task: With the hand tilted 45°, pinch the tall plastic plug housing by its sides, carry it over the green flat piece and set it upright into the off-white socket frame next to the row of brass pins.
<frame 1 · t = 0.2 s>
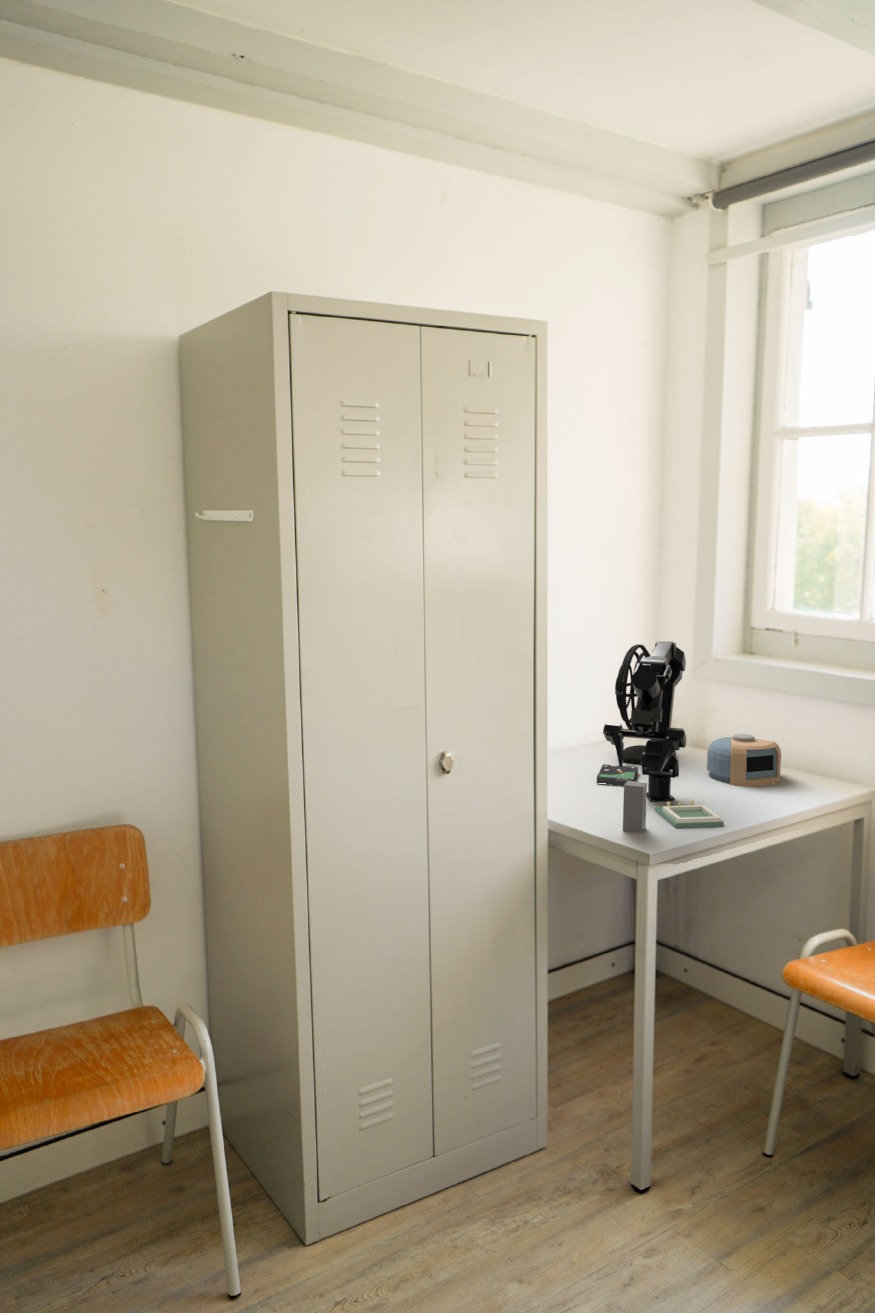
hand: (640, 769, 222), 15 cm above the table, tool tilted 35°, fingers open, 9 cm apart
plug housing: (634, 829, 224), on the table
alarm clock: (742, 777, 272), on the table
green flat piece: (688, 818, 233), on the table
desk fan: (644, 757, 295), on the table
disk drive: (617, 781, 270), on the table
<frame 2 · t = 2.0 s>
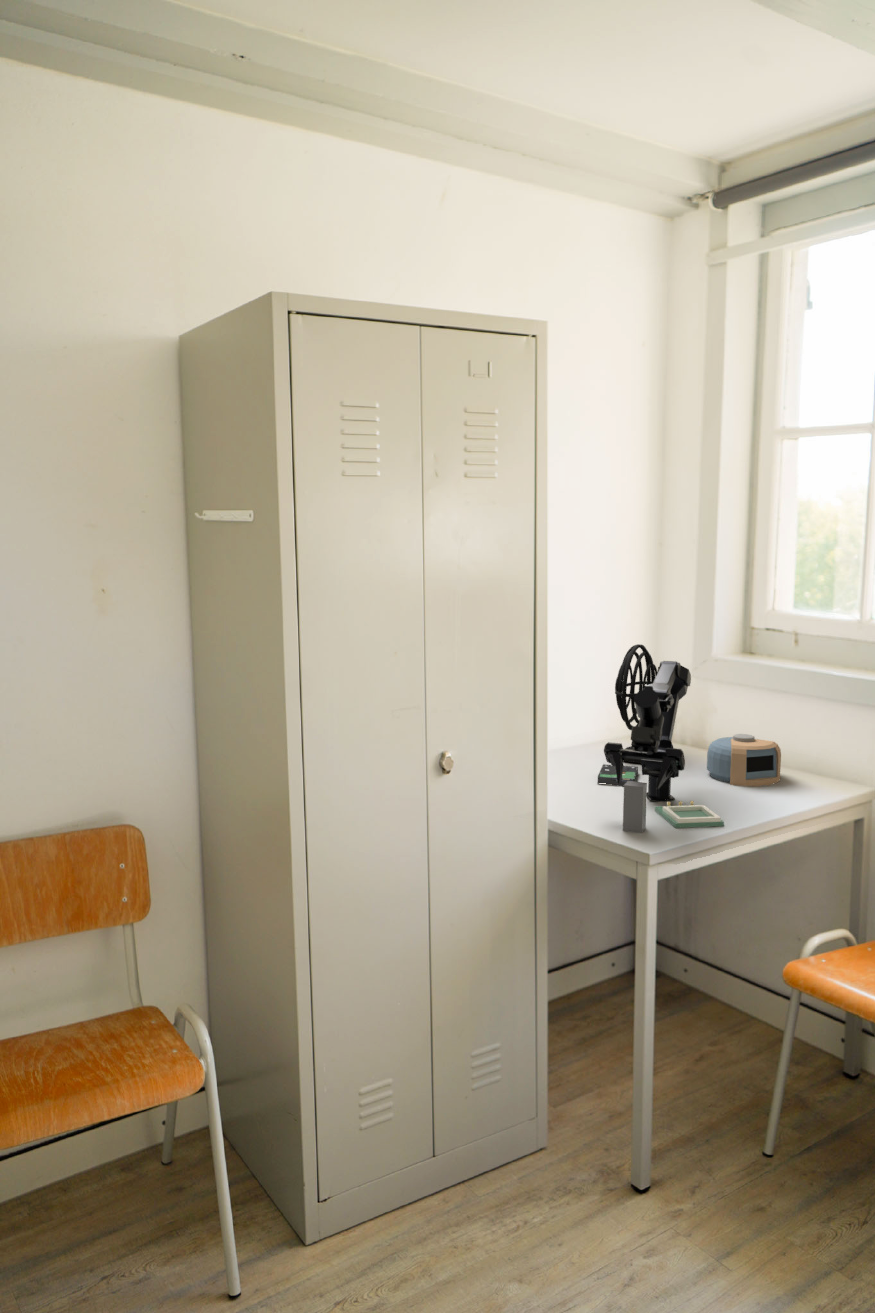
hand: (637, 786, 225), 10 cm above the table, tool tilted 45°, fingers open, 9 cm apart
nothing on the table moved.
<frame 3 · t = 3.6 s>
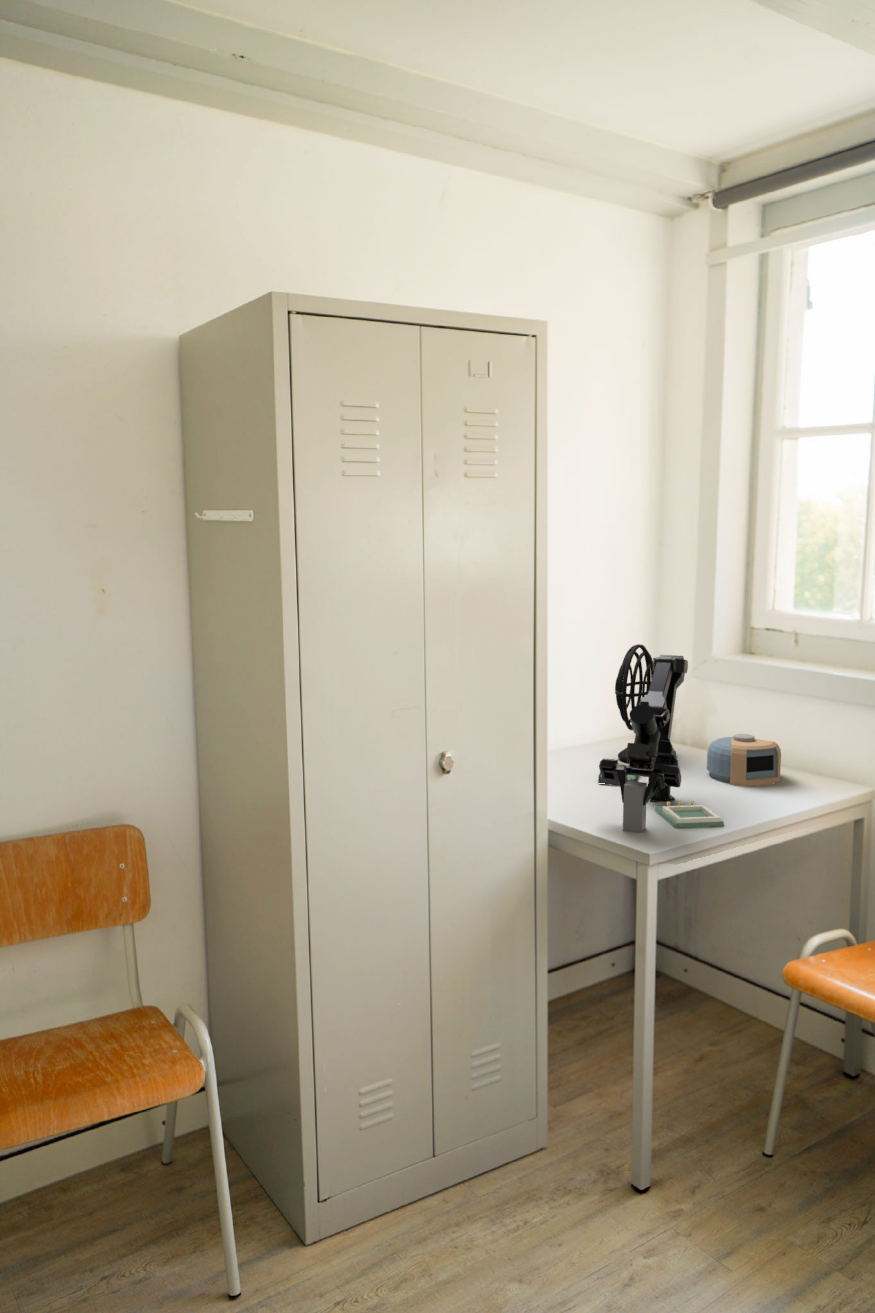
hand: (633, 803, 222), 7 cm above the table, tool tilted 45°, fingers closed on plug housing, 4 cm apart
plug housing: (634, 829, 224), on the table, touching gripper
everything else where it was.
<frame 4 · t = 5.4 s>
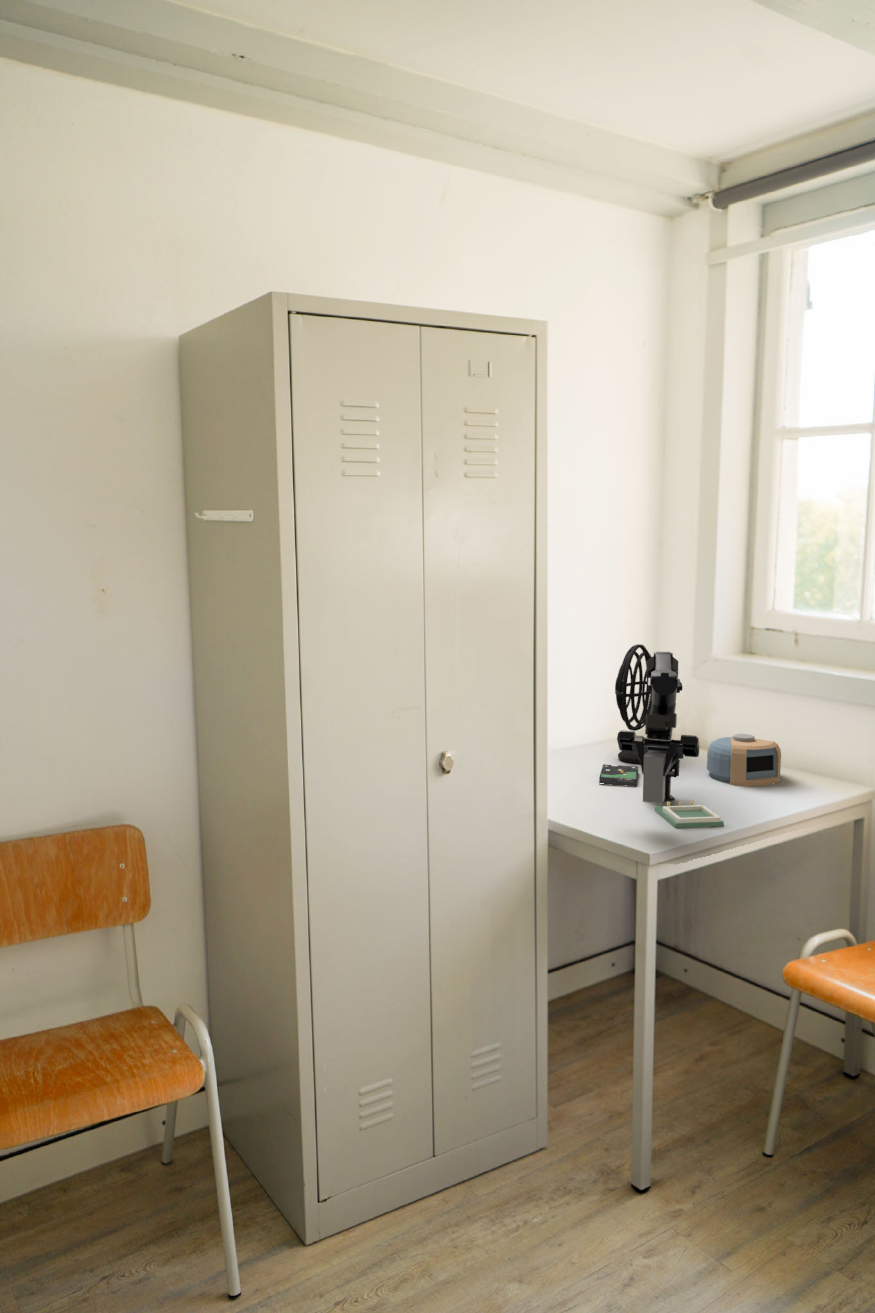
hand: (653, 774, 222), 13 cm above the table, tool tilted 45°, fingers closed on plug housing, 4 cm apart
plug housing: (653, 800, 224), point 7 cm above the table, touching gripper
everything else where it was.
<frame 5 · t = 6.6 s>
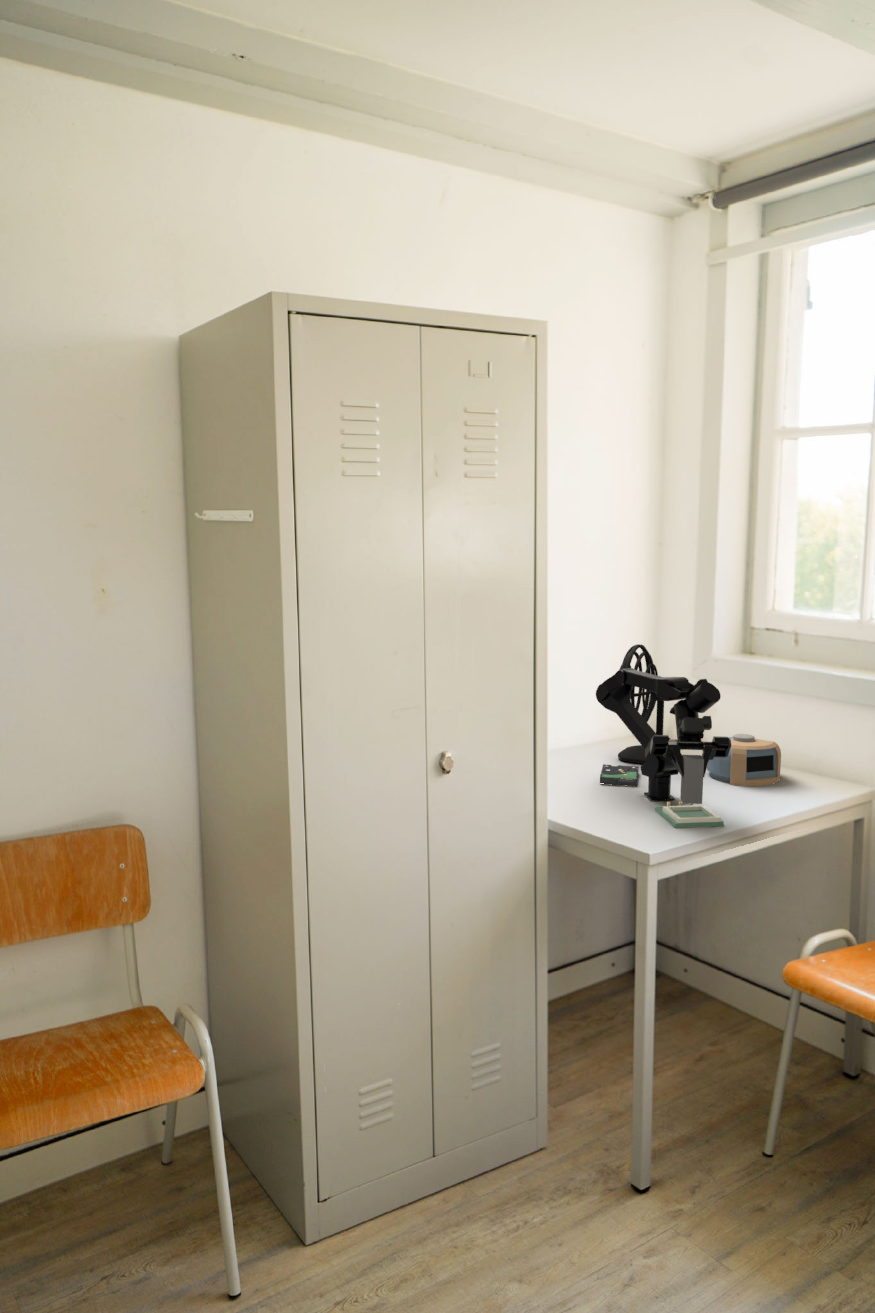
hand: (693, 776, 229), 11 cm above the table, tool tilted 45°, fingers closed on plug housing, 4 cm apart
plug housing: (691, 801, 231), point 5 cm above the table, touching gripper
everything else where it was.
when the fingers open (9 cm above the table, at t = 7.3 s): plug housing drops 1 cm, resting on green flat piece.
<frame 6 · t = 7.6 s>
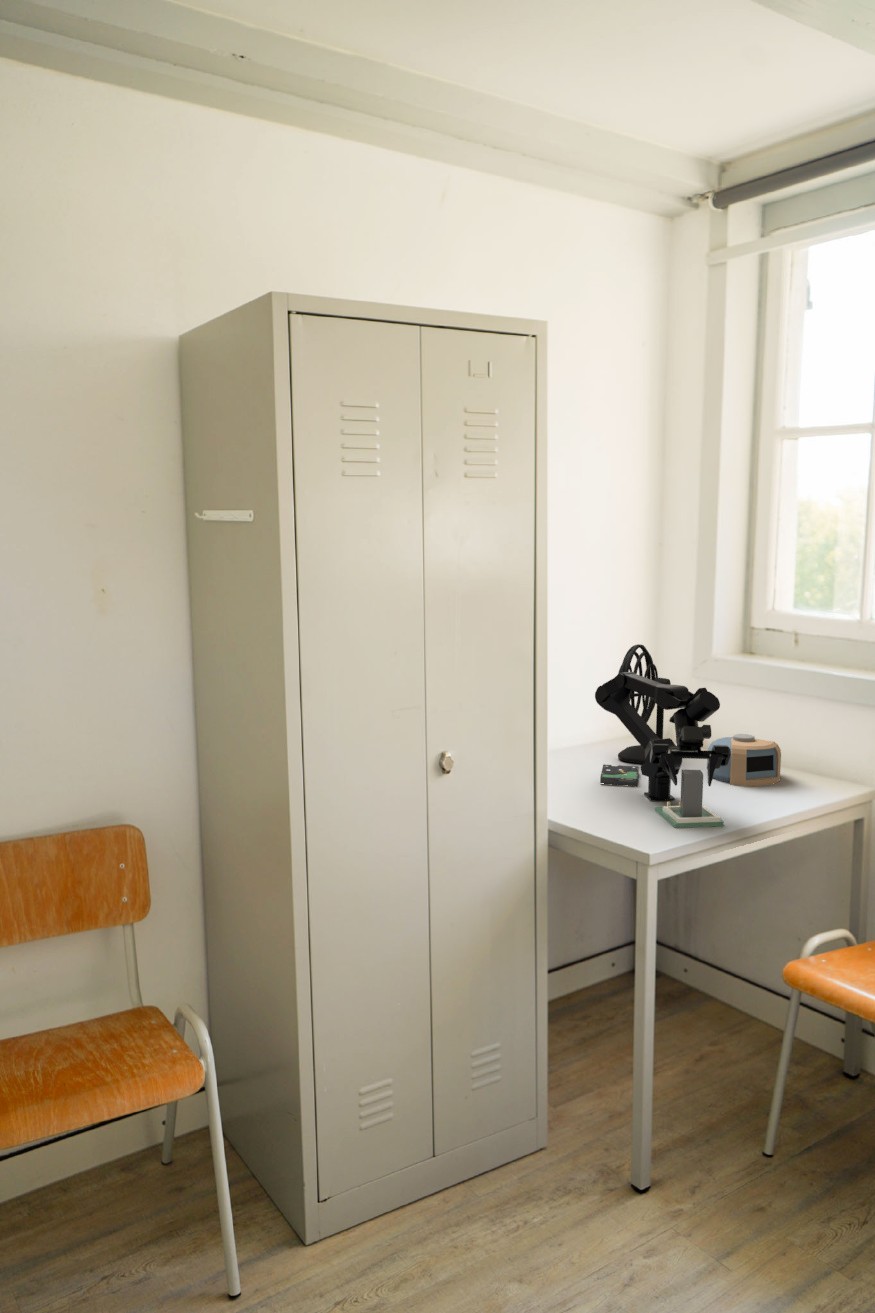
hand: (693, 785, 229), 9 cm above the table, tool tilted 45°, fingers open, 8 cm apart
plug housing: (690, 815, 231), point 1 cm above the table, touching green flat piece
everything else where it was.
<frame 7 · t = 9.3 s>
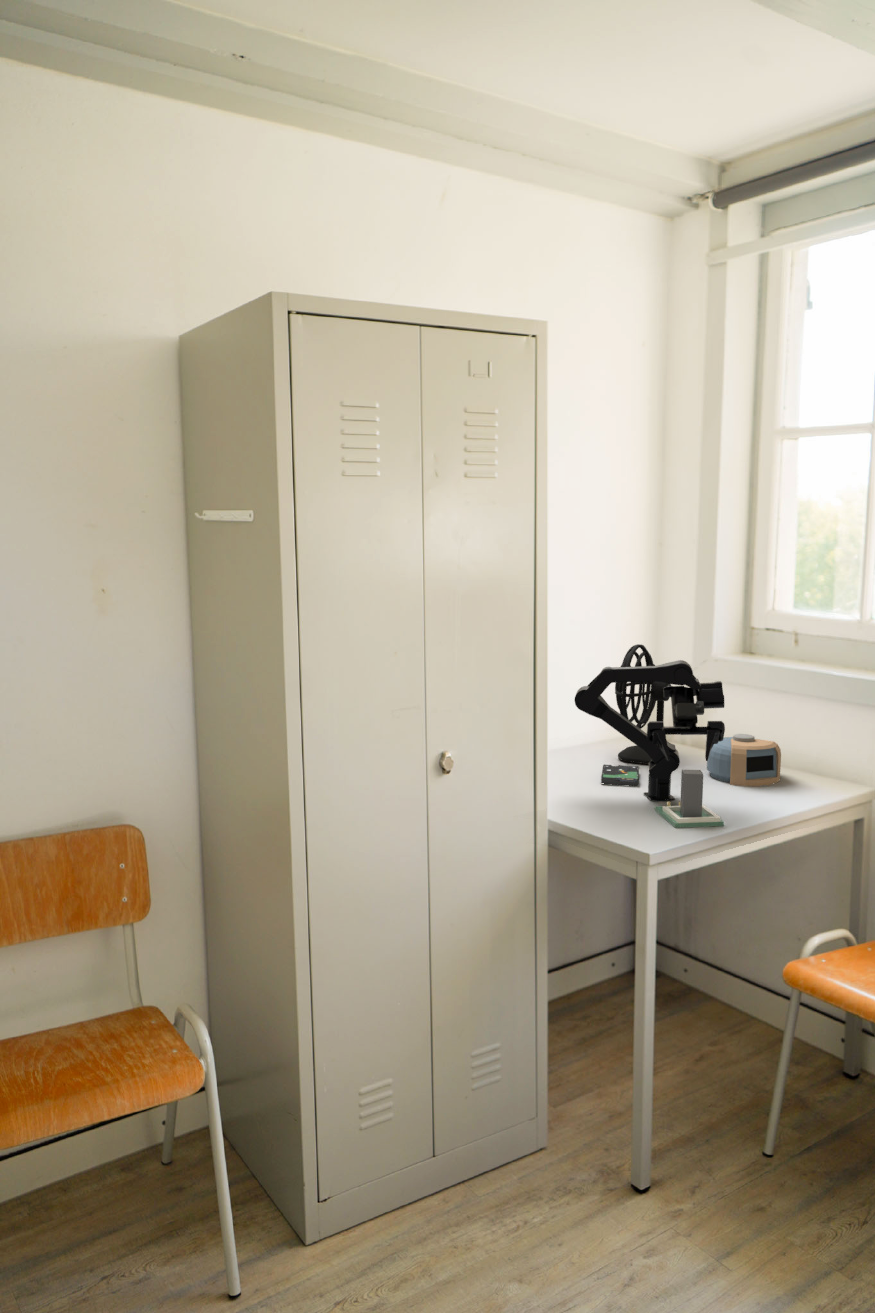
hand: (687, 760, 235), 14 cm above the table, tool tilted 45°, fingers open, 9 cm apart
nothing on the table moved.
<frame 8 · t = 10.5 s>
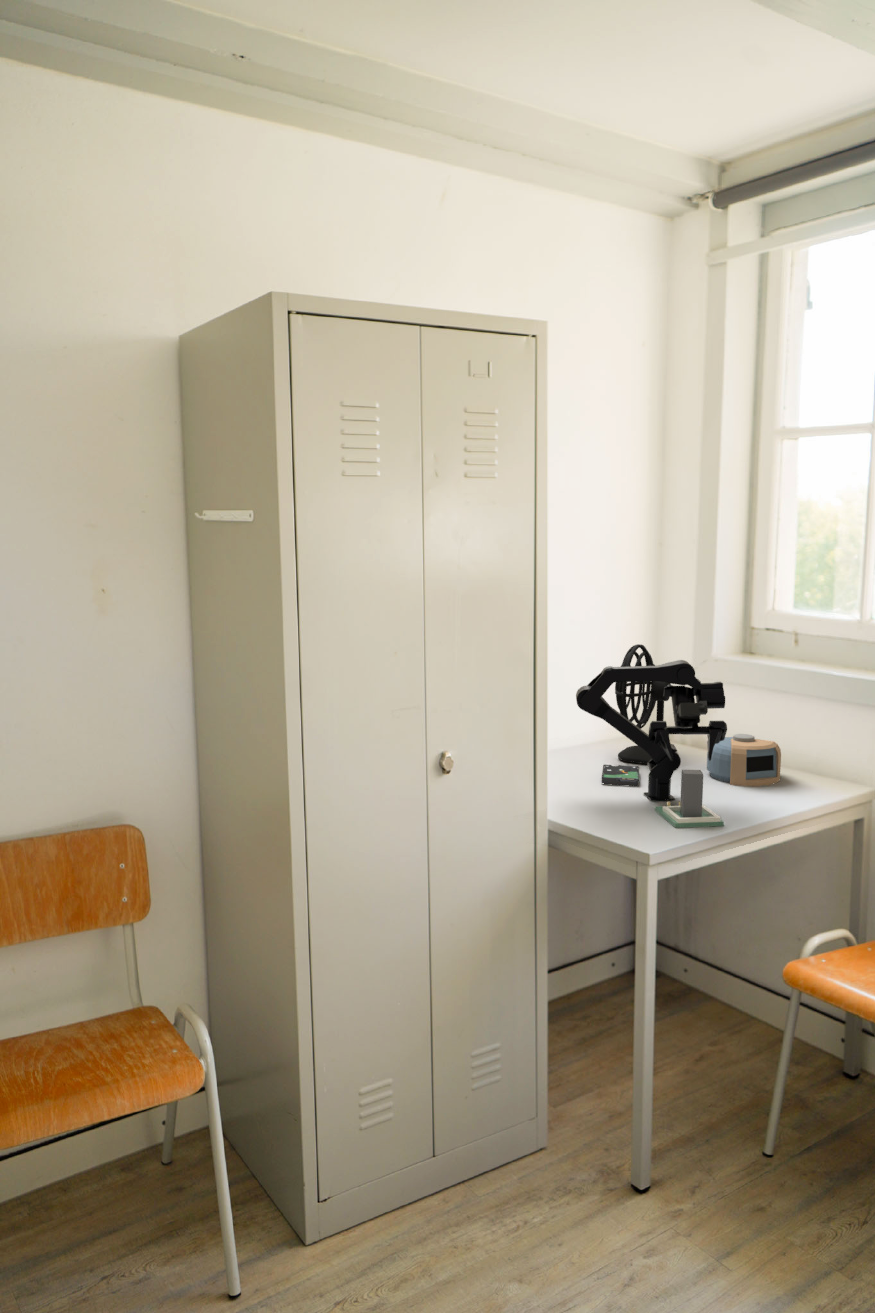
hand: (691, 759, 235), 14 cm above the table, tool tilted 45°, fingers open, 9 cm apart
nothing on the table moved.
at the end: plug housing inside the target area on the green flat piece (0.0 cm from its centre), point 1.0 cm above the green flat piece's base; plug housing tilted 0°; the gripper is holding nothing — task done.
